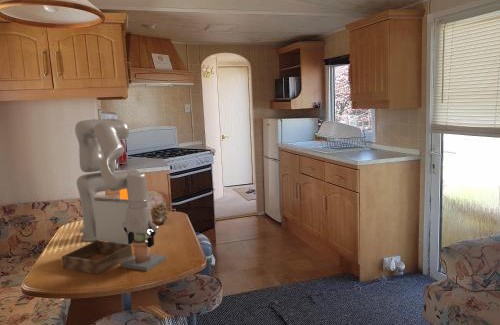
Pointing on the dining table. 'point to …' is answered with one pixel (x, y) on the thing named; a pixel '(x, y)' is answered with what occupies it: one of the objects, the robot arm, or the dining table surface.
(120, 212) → the frame lid
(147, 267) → the slate tile
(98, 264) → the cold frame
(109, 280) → the dining table surface
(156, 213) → the pine cone
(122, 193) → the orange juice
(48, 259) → the dining table surface
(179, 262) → the dining table surface
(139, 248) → the terracotta pot
